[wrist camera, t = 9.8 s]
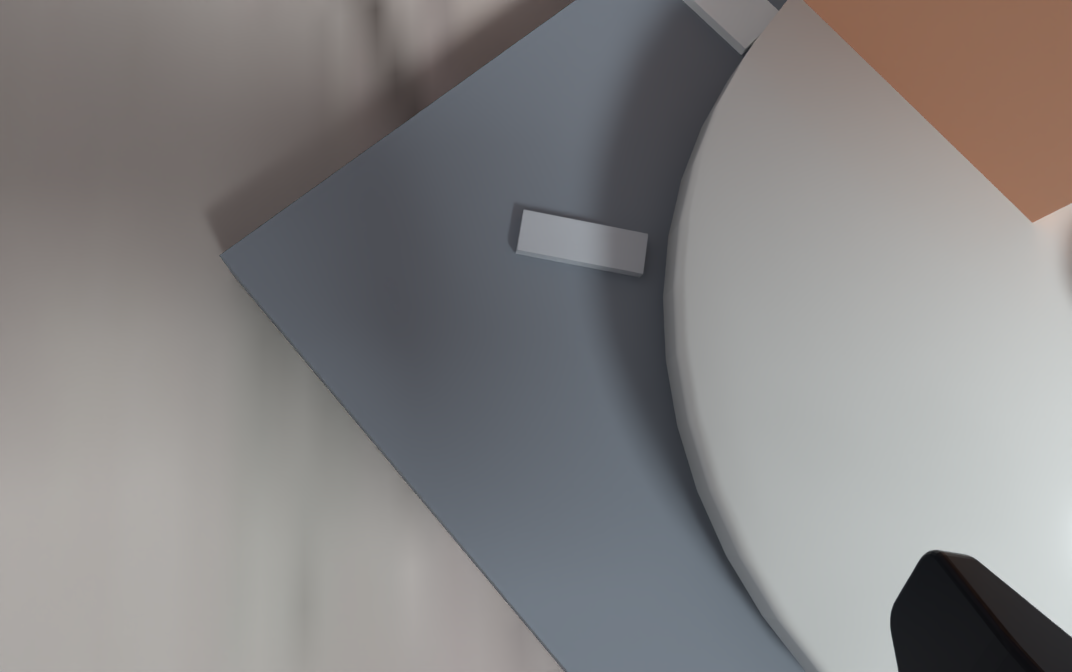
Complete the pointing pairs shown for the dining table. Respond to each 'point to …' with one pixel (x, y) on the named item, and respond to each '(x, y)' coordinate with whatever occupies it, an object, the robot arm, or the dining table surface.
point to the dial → (881, 311)
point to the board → (536, 327)
